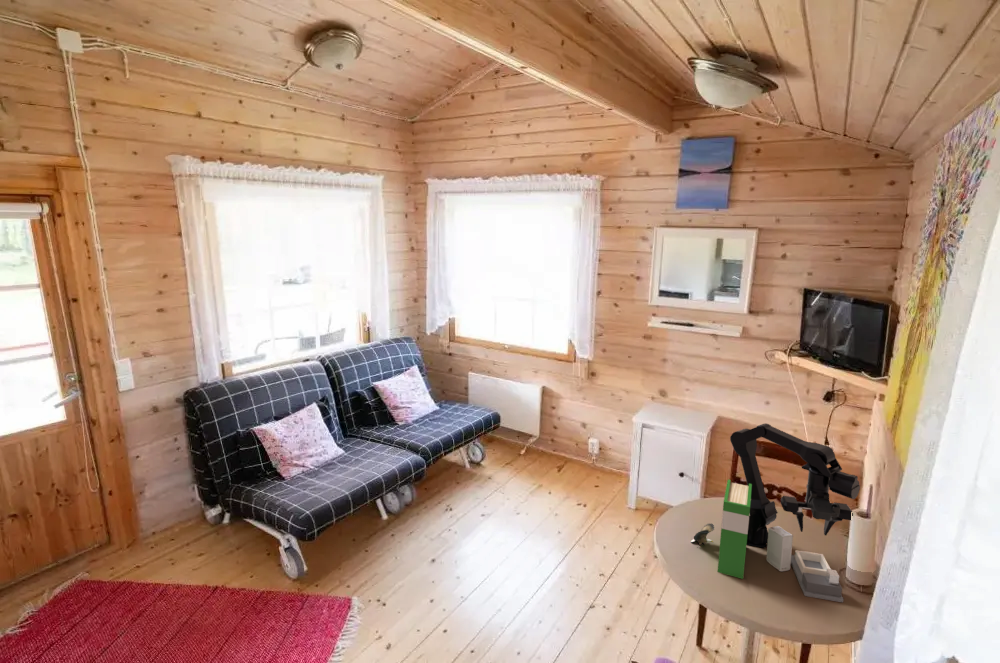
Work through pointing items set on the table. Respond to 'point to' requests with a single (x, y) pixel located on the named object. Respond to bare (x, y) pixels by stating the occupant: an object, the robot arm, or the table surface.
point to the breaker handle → (832, 576)
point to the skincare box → (779, 548)
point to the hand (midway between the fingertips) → (813, 532)
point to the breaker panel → (814, 576)
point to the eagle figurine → (703, 535)
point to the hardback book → (734, 529)
